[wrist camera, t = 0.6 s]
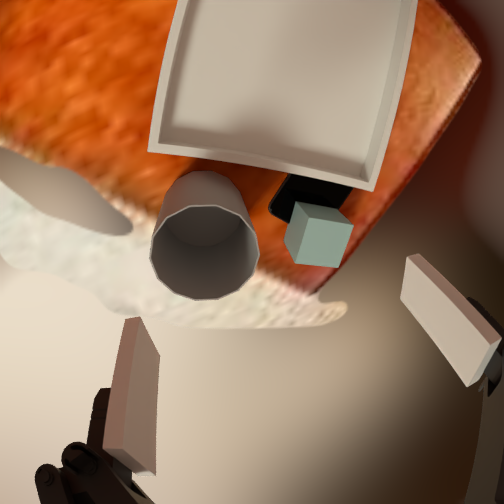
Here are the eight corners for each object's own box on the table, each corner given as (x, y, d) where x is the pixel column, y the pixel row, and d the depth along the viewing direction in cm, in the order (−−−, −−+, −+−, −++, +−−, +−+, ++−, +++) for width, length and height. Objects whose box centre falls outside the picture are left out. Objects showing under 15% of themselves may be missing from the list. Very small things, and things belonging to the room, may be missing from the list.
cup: (244, 170, 30) (262, 203, 22) (242, 242, 34) (257, 297, 26) (160, 172, 29) (143, 207, 20) (165, 245, 33) (155, 301, 24)
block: (283, 240, 35) (295, 263, 31) (294, 199, 33) (309, 217, 28) (322, 245, 36) (338, 267, 32) (334, 207, 34) (353, 225, 30)
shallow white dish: (154, 143, 27) (147, 151, 24) (206, -63, 17) (207, -81, 13) (354, 179, 32) (372, 191, 29) (397, -3, 22) (418, -9, 18)
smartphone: (315, 237, 36) (386, 134, 31) (317, 240, 35) (390, 135, 30) (263, 208, 33) (339, 94, 28) (264, 211, 32) (342, 95, 27)
